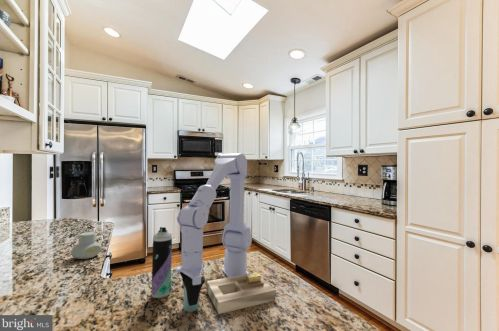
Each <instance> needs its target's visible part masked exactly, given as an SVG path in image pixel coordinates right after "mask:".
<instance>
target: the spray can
mask: <svg viewBox="0 0 499 331" xmlns="http://www.w3.org/2000/svg"><path fill="white" fill-rule="evenodd" d="M172 235H173V233H170V232H169V230H167V227H163V226H160V227H159V230H158V231H157V233H155V234H153V236H152V257H151V258H152V262H151V297H152V298H155V299H161V298H166V297H168V296H169V295H171V292H172V259H173V258H172V253H173V252H172V250H173V249H172V248H173V247H172V246H173V244H172V243H173V236H172Z"/></svg>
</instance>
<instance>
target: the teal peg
mask: <svg viewBox="0 0 499 331" xmlns="http://www.w3.org/2000/svg"><path fill="white" fill-rule="evenodd" d="M199 298H200V297H199ZM199 298H198V302H197V304H196V305H192V306H189V304H188V299H187V292H186V288H185V286H184V285H183V311H184V312H187V313H188V312H189V313H190V312H194V311H197V310H198V309H199V305H200V304H199V302H200V301H199V300H200V299H199Z"/></svg>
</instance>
